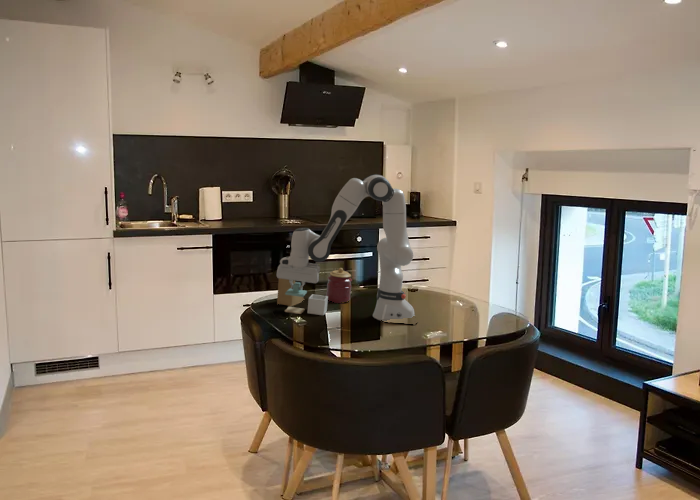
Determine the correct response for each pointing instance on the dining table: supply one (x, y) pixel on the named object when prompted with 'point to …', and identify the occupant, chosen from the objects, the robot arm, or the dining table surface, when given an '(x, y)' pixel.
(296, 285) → the lid
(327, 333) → the dining table surface
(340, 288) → the canister
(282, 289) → the sandwich container
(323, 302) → the box
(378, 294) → the robot arm
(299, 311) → the board
